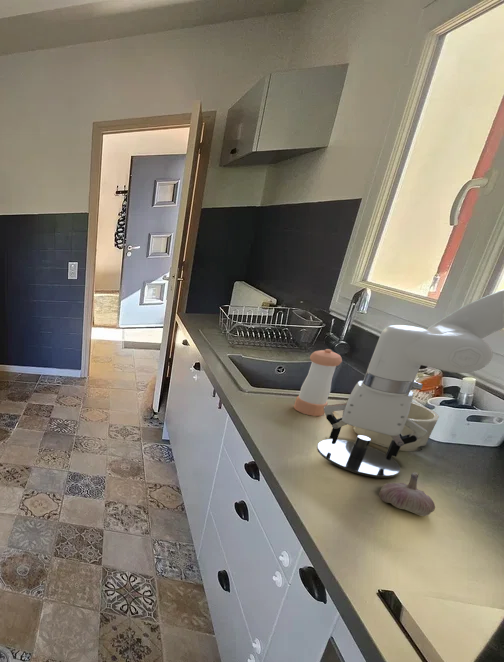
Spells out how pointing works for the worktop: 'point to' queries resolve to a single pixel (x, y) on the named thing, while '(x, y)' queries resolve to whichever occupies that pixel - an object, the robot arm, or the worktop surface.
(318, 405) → the pepper shaker
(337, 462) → the lid
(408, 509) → the garlic bulb
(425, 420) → the bowl
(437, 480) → the worktop surface
